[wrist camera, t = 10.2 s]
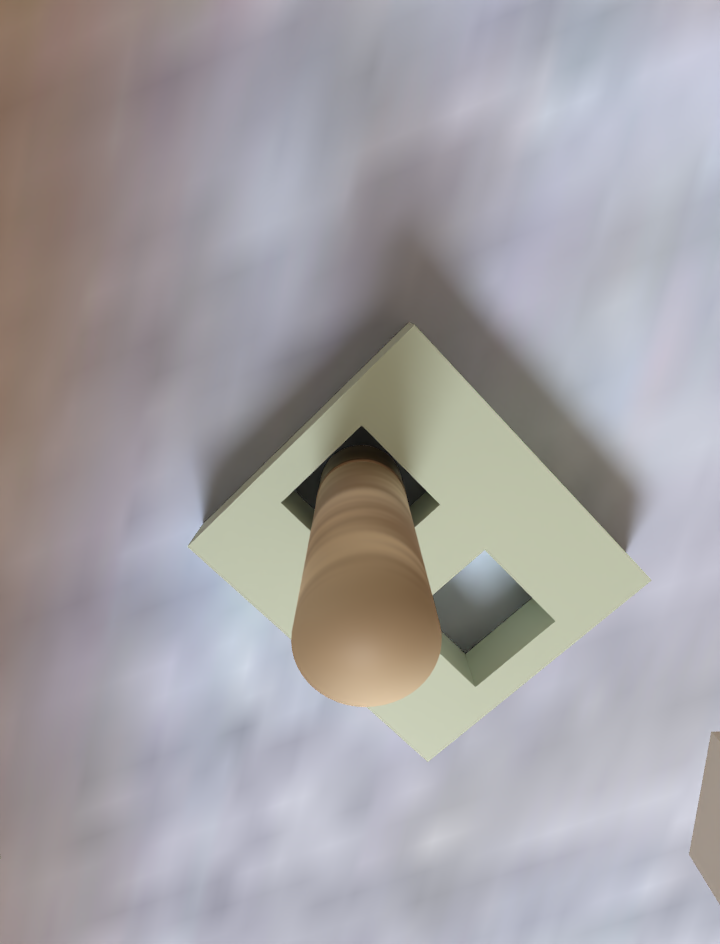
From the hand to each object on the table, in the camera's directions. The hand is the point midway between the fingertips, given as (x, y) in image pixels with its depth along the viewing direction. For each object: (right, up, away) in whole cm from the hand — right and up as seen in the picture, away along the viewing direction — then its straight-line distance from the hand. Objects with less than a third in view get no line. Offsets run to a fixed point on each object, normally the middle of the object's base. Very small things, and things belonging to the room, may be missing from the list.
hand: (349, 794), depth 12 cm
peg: (0, +5, +20) cm, 21 cm away
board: (+3, +2, +21) cm, 21 cm away
